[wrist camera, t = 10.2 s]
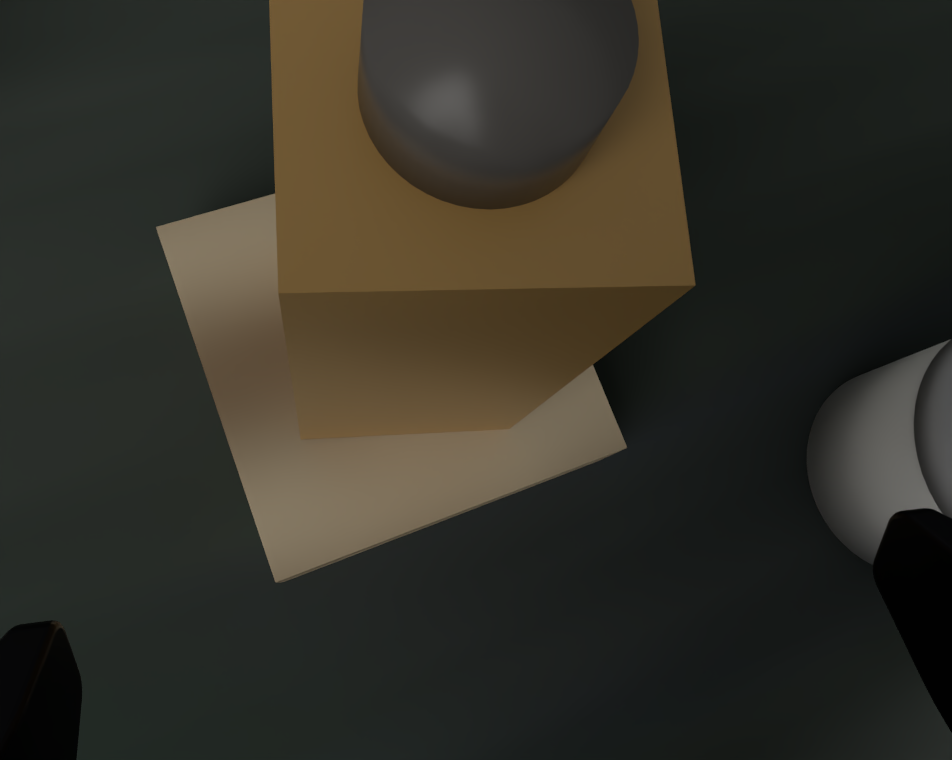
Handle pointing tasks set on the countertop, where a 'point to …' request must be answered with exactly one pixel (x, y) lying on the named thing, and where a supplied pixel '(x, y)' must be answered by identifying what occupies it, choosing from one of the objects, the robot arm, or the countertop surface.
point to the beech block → (349, 458)
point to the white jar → (884, 448)
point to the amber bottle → (467, 203)
